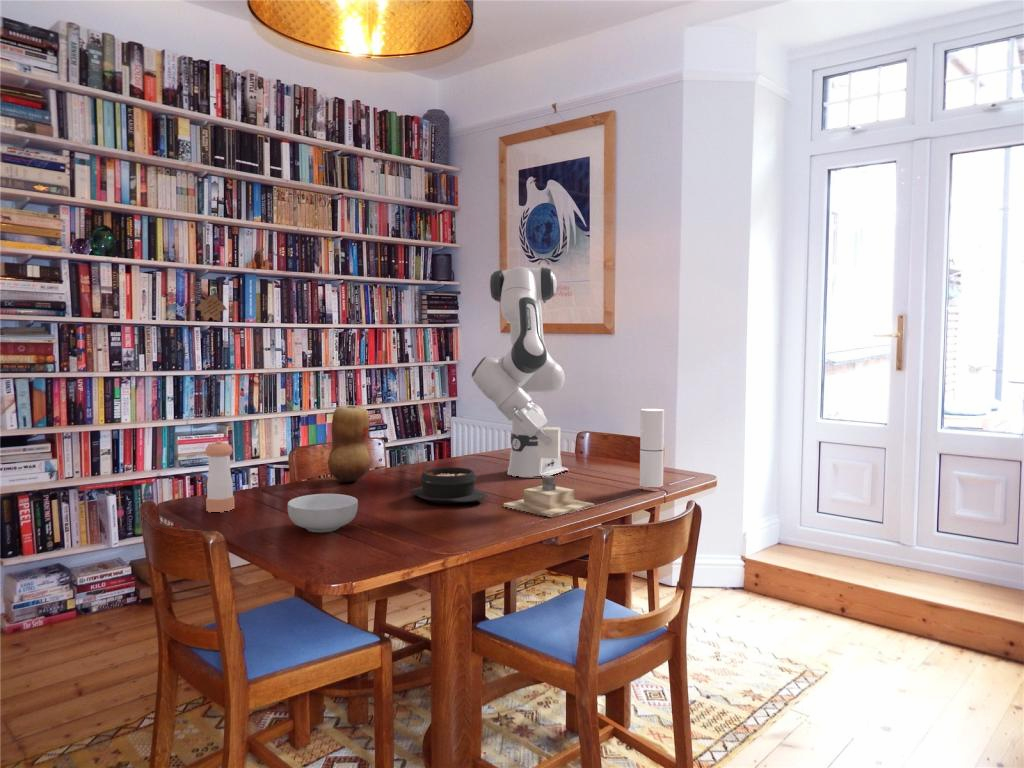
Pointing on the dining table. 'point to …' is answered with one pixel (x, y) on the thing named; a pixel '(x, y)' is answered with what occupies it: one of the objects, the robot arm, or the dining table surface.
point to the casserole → (448, 486)
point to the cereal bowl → (322, 511)
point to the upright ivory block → (554, 446)
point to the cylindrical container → (651, 447)
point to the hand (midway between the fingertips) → (551, 441)
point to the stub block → (548, 500)
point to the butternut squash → (349, 443)
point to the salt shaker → (219, 478)
